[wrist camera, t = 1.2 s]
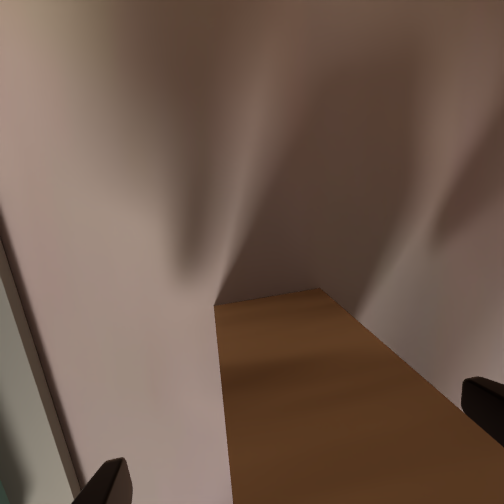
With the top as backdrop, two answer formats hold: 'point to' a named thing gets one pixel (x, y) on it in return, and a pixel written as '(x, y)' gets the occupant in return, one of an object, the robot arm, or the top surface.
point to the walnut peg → (339, 414)
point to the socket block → (27, 414)
